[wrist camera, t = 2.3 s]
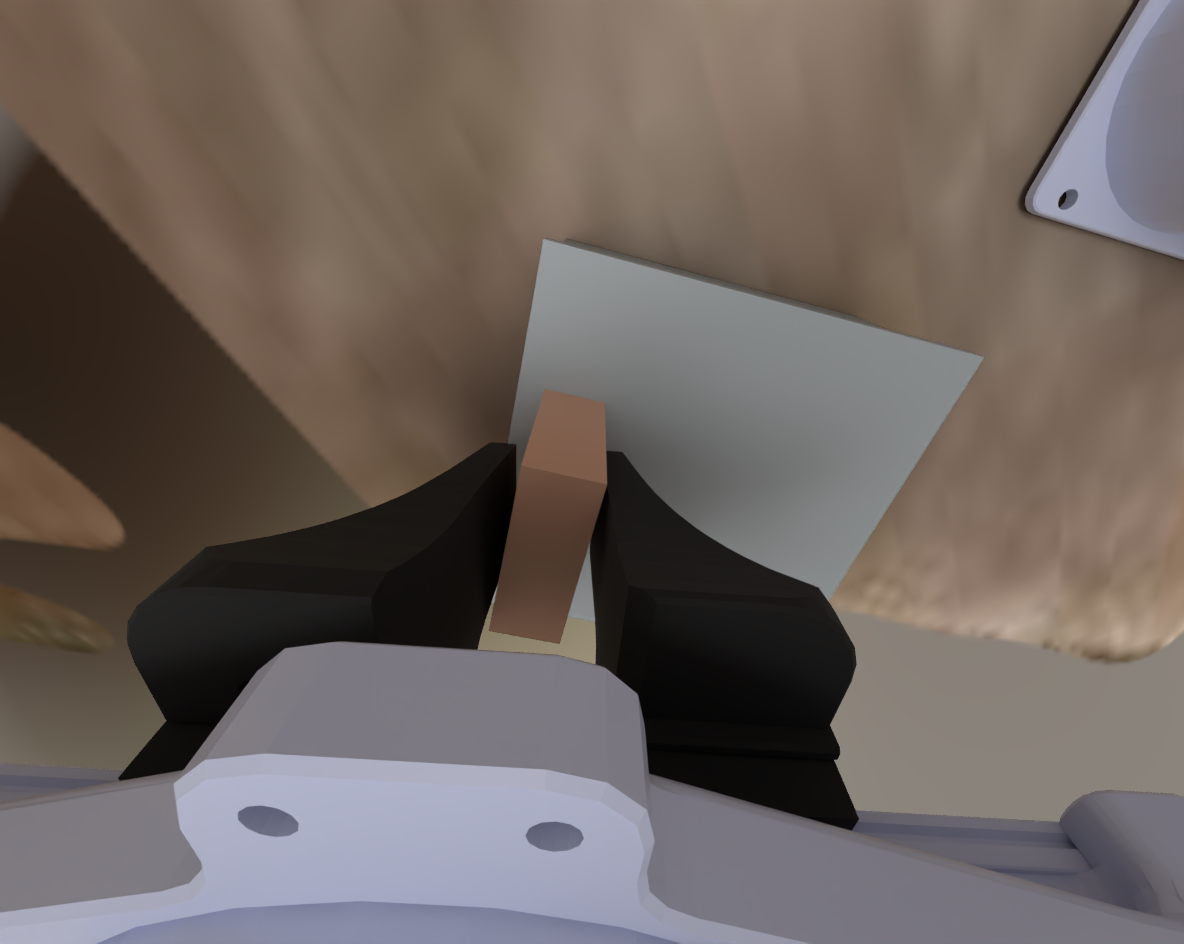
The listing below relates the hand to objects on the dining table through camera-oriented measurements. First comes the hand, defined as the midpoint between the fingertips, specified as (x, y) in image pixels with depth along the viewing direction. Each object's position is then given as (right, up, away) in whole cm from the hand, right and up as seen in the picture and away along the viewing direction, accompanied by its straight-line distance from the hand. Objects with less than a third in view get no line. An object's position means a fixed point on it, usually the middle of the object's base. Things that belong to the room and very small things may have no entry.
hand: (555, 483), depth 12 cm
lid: (+4, 0, +2) cm, 4 cm away
